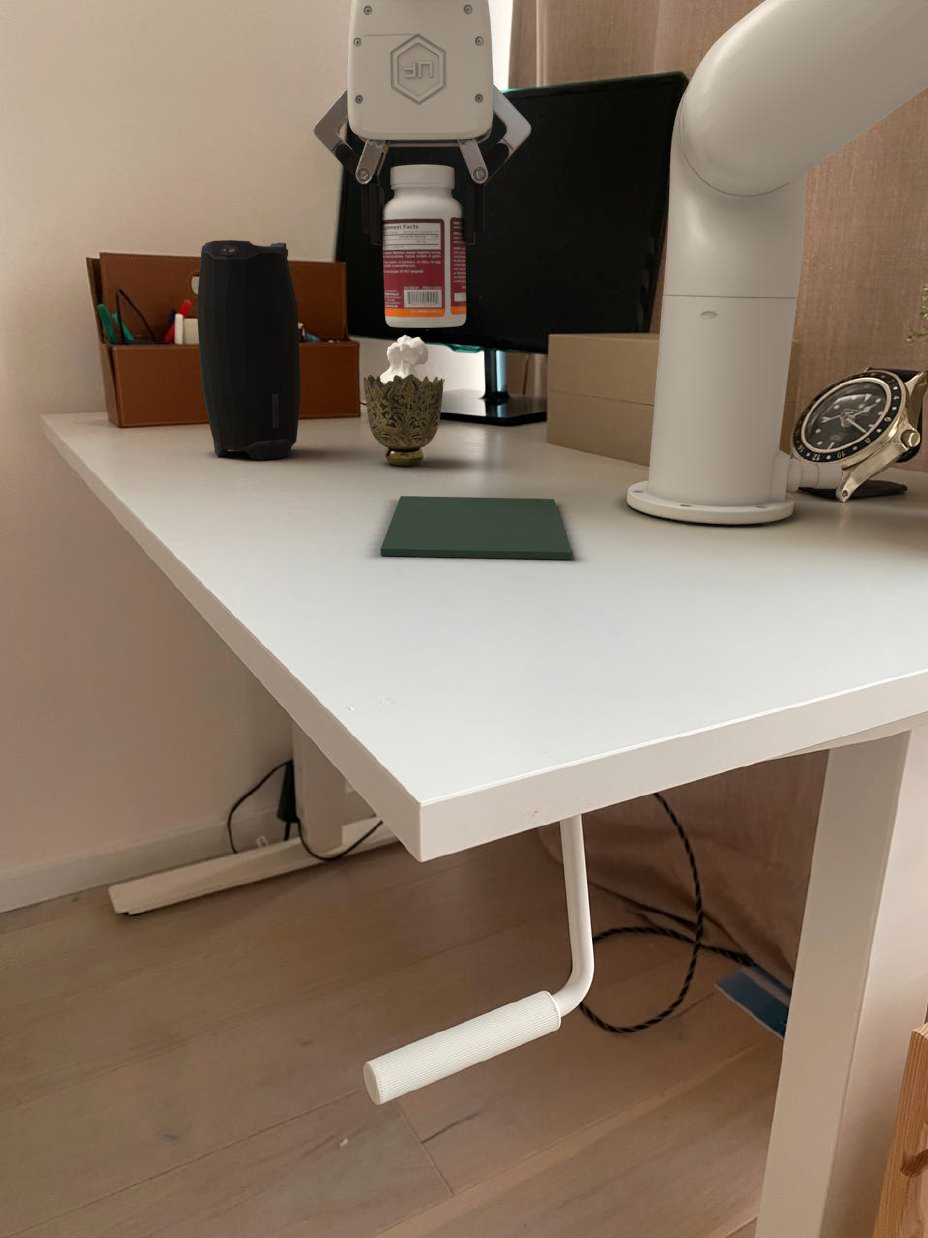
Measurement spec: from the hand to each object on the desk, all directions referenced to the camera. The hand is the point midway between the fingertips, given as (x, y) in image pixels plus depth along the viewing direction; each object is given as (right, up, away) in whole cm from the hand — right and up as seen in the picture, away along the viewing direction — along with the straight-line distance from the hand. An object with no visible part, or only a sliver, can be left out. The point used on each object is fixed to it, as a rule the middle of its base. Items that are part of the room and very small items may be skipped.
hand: (423, 241), depth 73 cm
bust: (-5, -4, +48) cm, 48 cm away
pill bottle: (0, -6, +2) cm, 6 cm away
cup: (-3, -14, +20) cm, 24 cm away
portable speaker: (-18, -12, +24) cm, 32 cm away
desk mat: (+4, -22, -4) cm, 22 cm away
